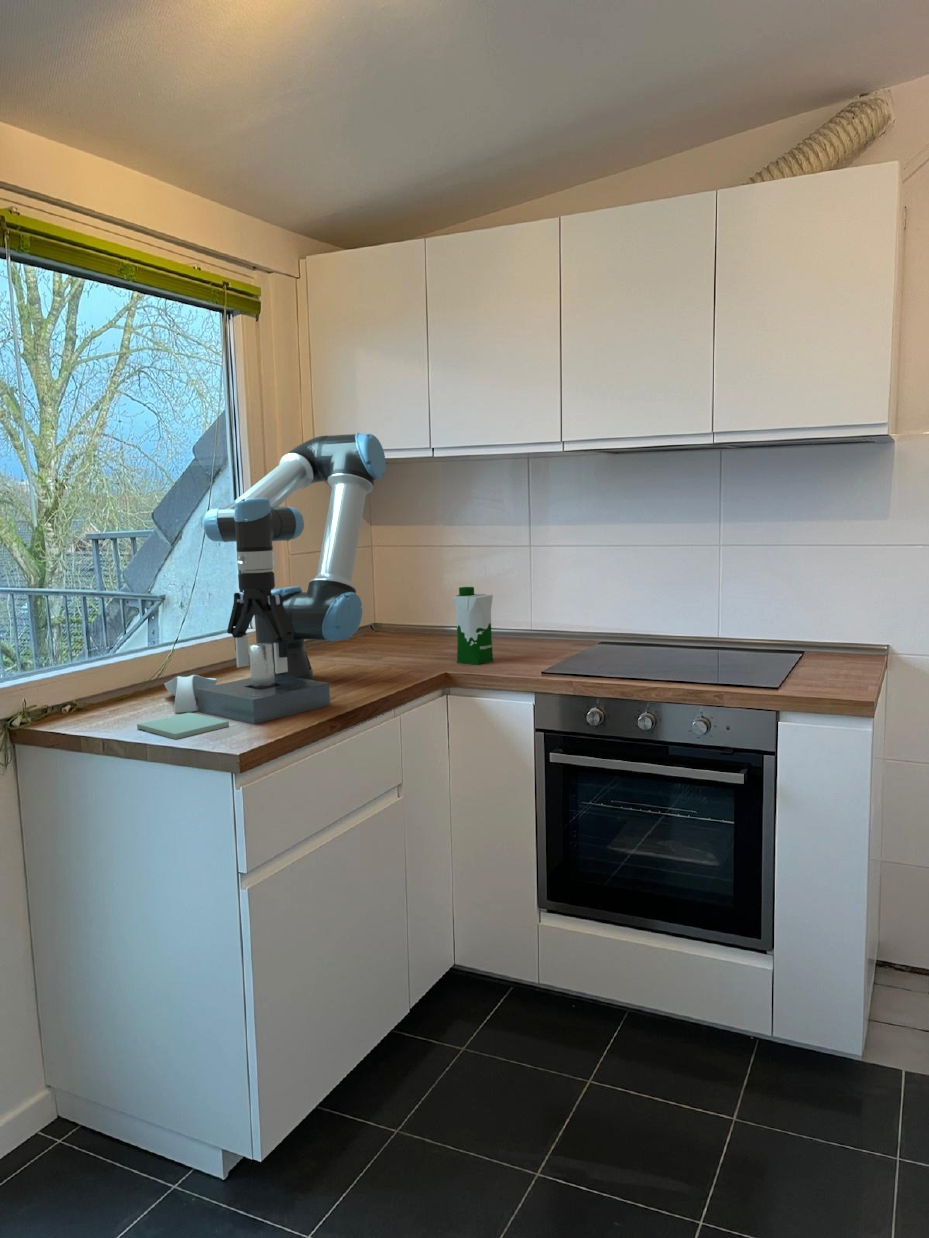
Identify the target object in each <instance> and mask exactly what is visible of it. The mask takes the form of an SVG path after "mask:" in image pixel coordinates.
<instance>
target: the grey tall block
mask: <svg viewBox="0 0 929 1238" xmlns="http://www.w3.org/2000/svg"><path fill="white" fill-rule="evenodd" d="M248 655H249V668H250V669H249V671H250V678H251V688H253V689H259V690H262V689H266V688H271V687H275V677H274V660H273V644H272V643H252V644H248Z"/></svg>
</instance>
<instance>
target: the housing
mask: <svg viewBox="0 0 929 1238" xmlns="http://www.w3.org/2000/svg"><path fill="white" fill-rule="evenodd" d="M274 677H275V687H271V688H266V689H262V690H259V689H253V688H251V677H248V678H243V679H237V680H235V681H233V680H232V681H228V682H224V683H219V684H216V685H213V686H208V687H203V688H198V689H197V699H196V700H197V712H199V713H204V714H208V715H213V716H217V717H220V718H226V719H231V720H233V721H238V722H243V723H248V724H253V725H255V724H256V725H257V724H260V723H265V722H269V721H272V720H273V721H274V720H277V719H281V718H284V717H289V716H292V715H297V714H301V713H305V712H309V711H312V710H317V709H321V708H326V707H330V706H331V696H330V693H331V692H330V691H331V690H330V682H326V681H320V680H314V679H312V680H309V679H303V678H297V677H290V676H284V675H278V674H274Z"/></svg>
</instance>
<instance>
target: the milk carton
mask: <svg viewBox="0 0 929 1238" xmlns="http://www.w3.org/2000/svg"><path fill="white" fill-rule="evenodd" d="M493 596H494V595H493V594H486V593H475V587H474V586H462V587H461V586H460V587H459V588H458V595H454V596H453V597H452V599H453V602H454V604H453V605H454V608H455V613H456V640H457V645H456V647H457V650H456V663H458V664H465V665H466V664H467V665H474V664H475V665H476V666H478V665H483V664H487V663H490V662H494V655H493V644H492V641H493V639H492V603H493V598H494V597H493Z"/></svg>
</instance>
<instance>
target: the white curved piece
mask: <svg viewBox="0 0 929 1238" xmlns="http://www.w3.org/2000/svg"><path fill="white" fill-rule="evenodd" d="M217 682H218V679H217V678H214V677H213V678H212V677H204V676H202V675H201V676H200V675H198V674H191V675H189V676H181V675H180V676H179V675H178V676H175V677H173V678H172V679H171V680H169V681H167V682H164V687H165V689H166V690H167V691H168V693H170V694H171V695H172V696H174V707H173V709H174V710H173V711H174V713H175V714H179V713H180V714H185V713H189V712H190V713H194V712H198V704H197V700H198V699H197V689H198V688H203V687H208V686H213V685H217Z"/></svg>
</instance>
